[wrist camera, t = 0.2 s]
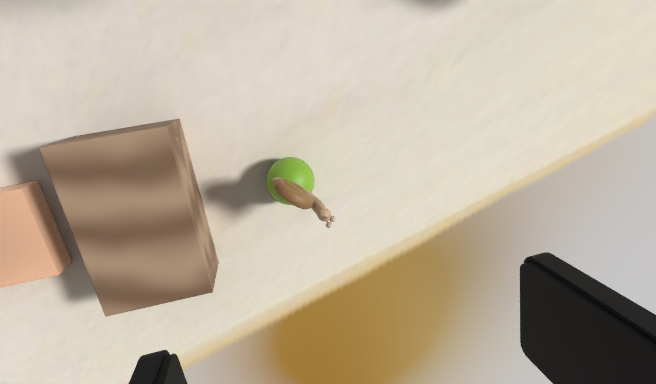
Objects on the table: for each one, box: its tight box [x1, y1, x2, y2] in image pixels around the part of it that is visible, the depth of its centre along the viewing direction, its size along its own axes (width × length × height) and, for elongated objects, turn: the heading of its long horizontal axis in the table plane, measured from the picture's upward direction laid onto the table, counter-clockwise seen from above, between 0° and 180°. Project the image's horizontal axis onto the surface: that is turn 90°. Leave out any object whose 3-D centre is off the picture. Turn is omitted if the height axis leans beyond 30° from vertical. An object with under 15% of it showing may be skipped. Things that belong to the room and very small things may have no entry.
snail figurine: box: [267, 157, 335, 228], centre depth 40 cm, size 5×6×12 cm
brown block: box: [39, 119, 218, 316], centre depth 41 cm, size 18×11×7 cm, turn 8°
